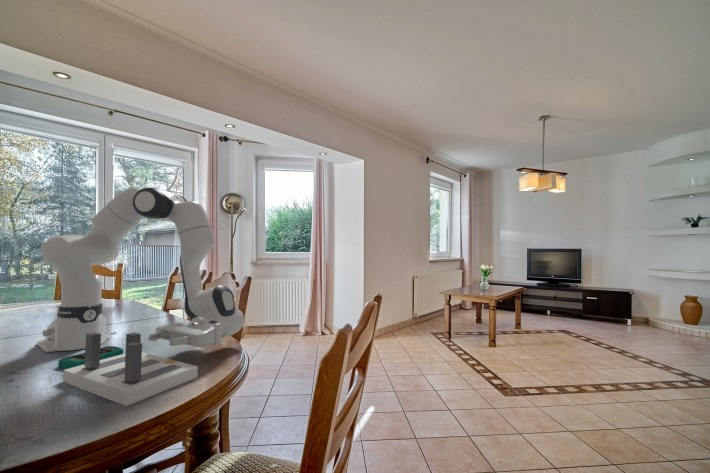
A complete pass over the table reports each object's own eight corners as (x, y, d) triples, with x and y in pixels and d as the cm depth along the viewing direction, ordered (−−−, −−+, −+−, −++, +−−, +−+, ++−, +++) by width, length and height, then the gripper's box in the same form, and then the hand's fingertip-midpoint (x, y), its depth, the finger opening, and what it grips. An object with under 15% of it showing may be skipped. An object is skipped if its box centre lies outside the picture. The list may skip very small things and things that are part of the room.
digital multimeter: (125, 356, 105) (125, 346, 105) (73, 372, 91) (74, 361, 91) (109, 353, 107) (109, 344, 108) (56, 368, 93) (57, 358, 93)
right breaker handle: (124, 380, 77) (126, 343, 77) (133, 377, 79) (134, 341, 79) (131, 382, 76) (133, 345, 76) (140, 379, 78) (142, 343, 78)
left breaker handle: (84, 367, 85) (86, 334, 85) (93, 364, 87) (94, 332, 87) (90, 368, 84) (92, 335, 84) (99, 366, 85) (100, 333, 86)
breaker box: (62, 381, 84) (63, 369, 84) (135, 360, 100) (135, 350, 100) (126, 406, 71) (127, 391, 72) (197, 377, 88) (197, 365, 88)
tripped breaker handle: (124, 366, 86) (126, 334, 86) (132, 364, 87) (134, 332, 88) (131, 368, 84) (133, 335, 85) (139, 366, 86) (140, 333, 86)
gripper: (180, 316, 110) (138, 325, 97) (224, 324, 101) (184, 334, 89) (180, 335, 110) (137, 346, 97) (223, 344, 101) (183, 357, 88)
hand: (160, 340), depth 93 cm, fingers open, 8 cm apart
